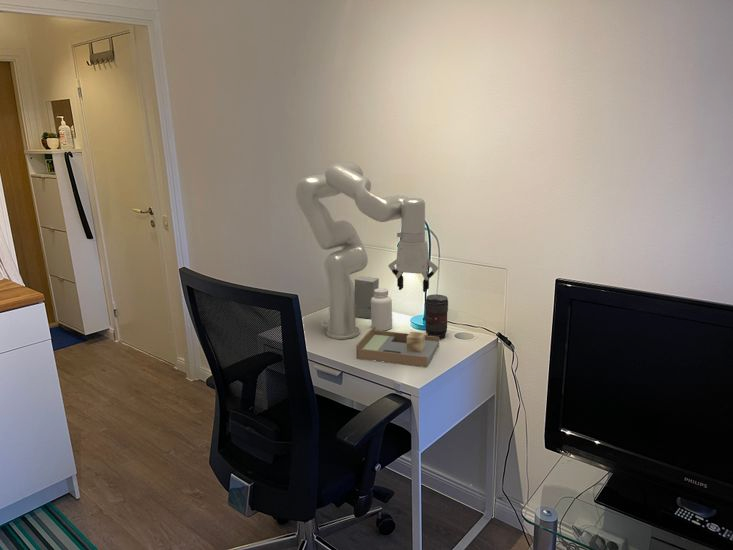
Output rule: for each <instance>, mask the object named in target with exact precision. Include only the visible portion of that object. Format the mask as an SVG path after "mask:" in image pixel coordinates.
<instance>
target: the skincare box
mask: <svg viewBox="0 0 733 550" xmlns="http://www.w3.org/2000/svg"><path fill="white" fill-rule="evenodd" d="M379 281H380V278H377V277H371V276H364V275H361V276H358V277H356V278H355V279H354V295H355V318H362V319H370V320H371V298H372V297H374V290H375V289H378V288H380V287H379V284H380V283H379Z"/></svg>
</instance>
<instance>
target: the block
mask: <svg viewBox="0 0 733 550" xmlns="http://www.w3.org/2000/svg"><path fill="white" fill-rule="evenodd" d="M407 334H408V336H407V351H412V352H422V351H423V349H424V347H425V335H426V333H425V332H417V331H409V333H407Z"/></svg>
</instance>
